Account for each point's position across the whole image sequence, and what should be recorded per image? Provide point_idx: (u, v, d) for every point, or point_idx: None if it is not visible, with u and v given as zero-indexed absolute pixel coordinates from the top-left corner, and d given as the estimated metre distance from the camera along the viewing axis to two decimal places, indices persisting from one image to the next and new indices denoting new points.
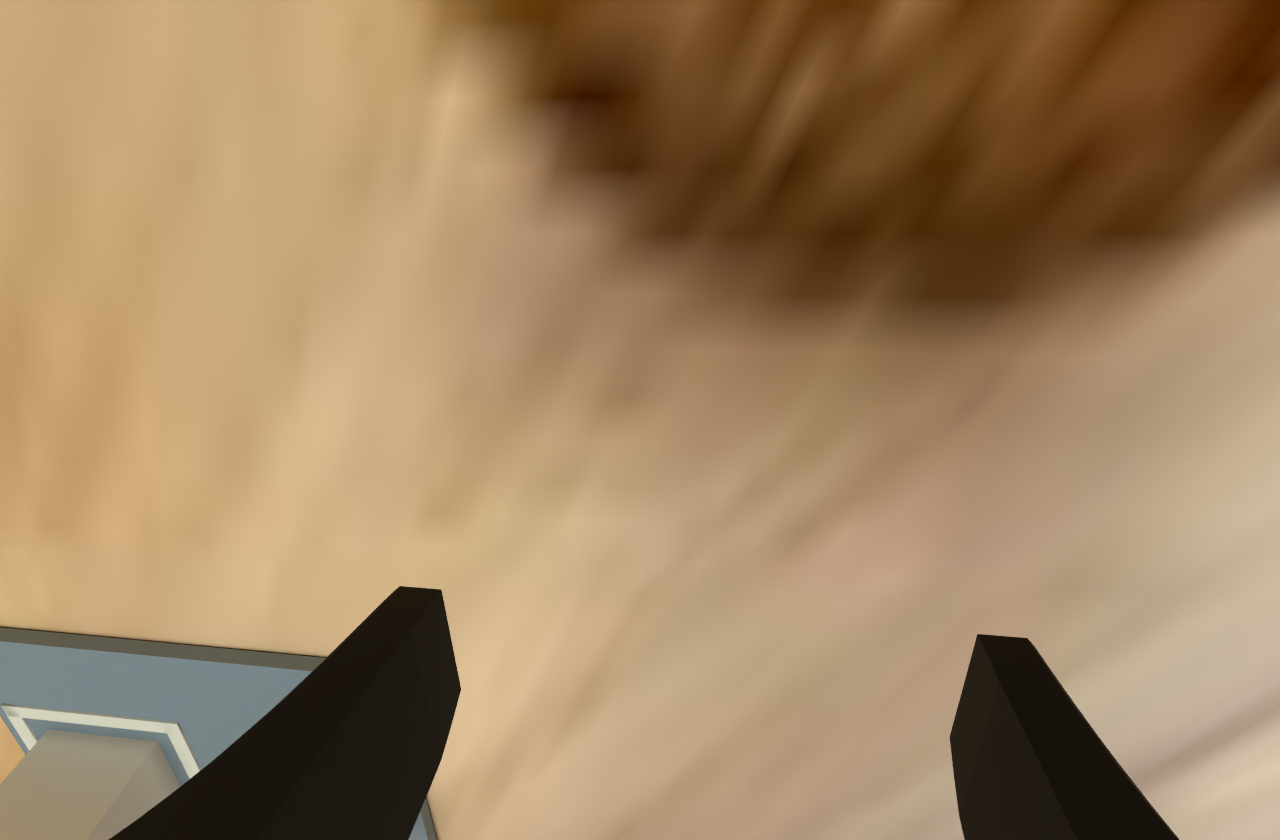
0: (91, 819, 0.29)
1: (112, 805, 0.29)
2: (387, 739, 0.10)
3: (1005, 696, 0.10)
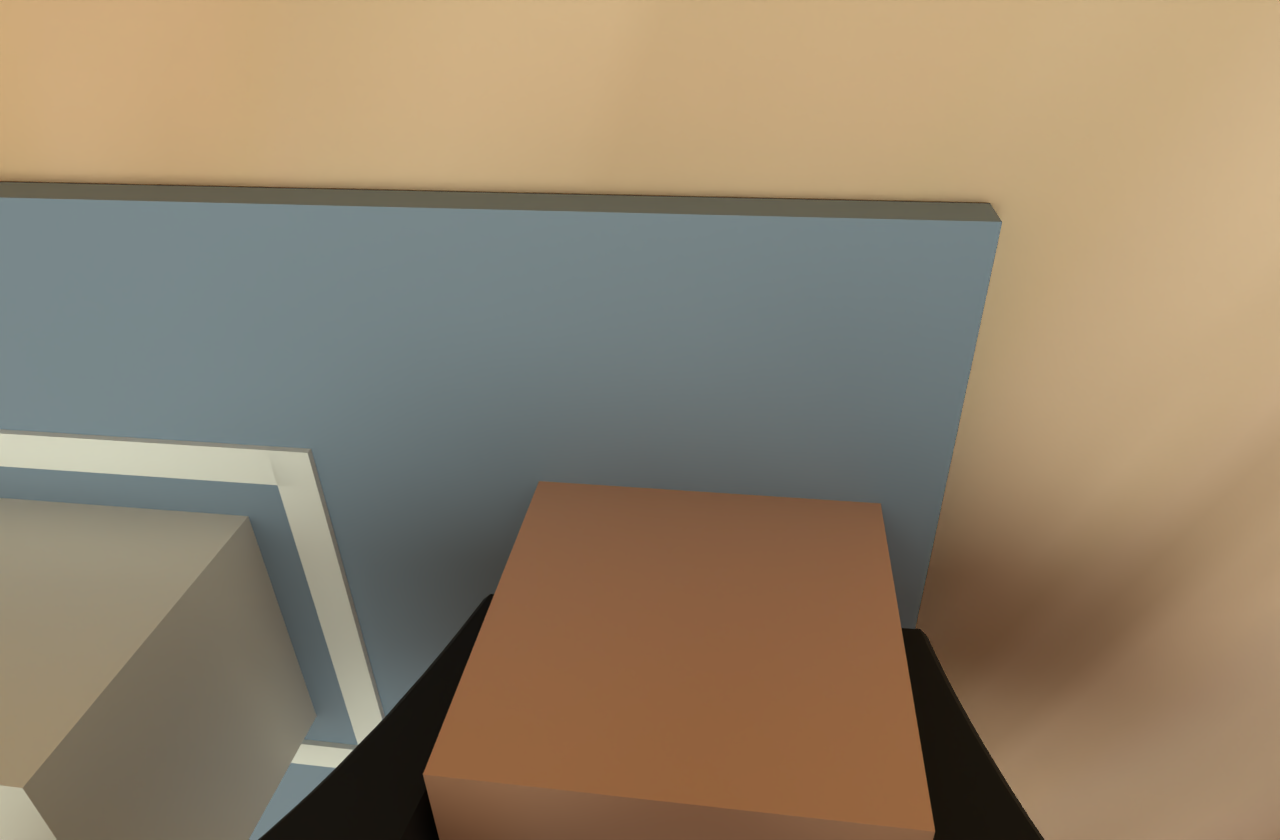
0: (81, 681, 0.10)
1: (139, 649, 0.10)
2: None
3: None
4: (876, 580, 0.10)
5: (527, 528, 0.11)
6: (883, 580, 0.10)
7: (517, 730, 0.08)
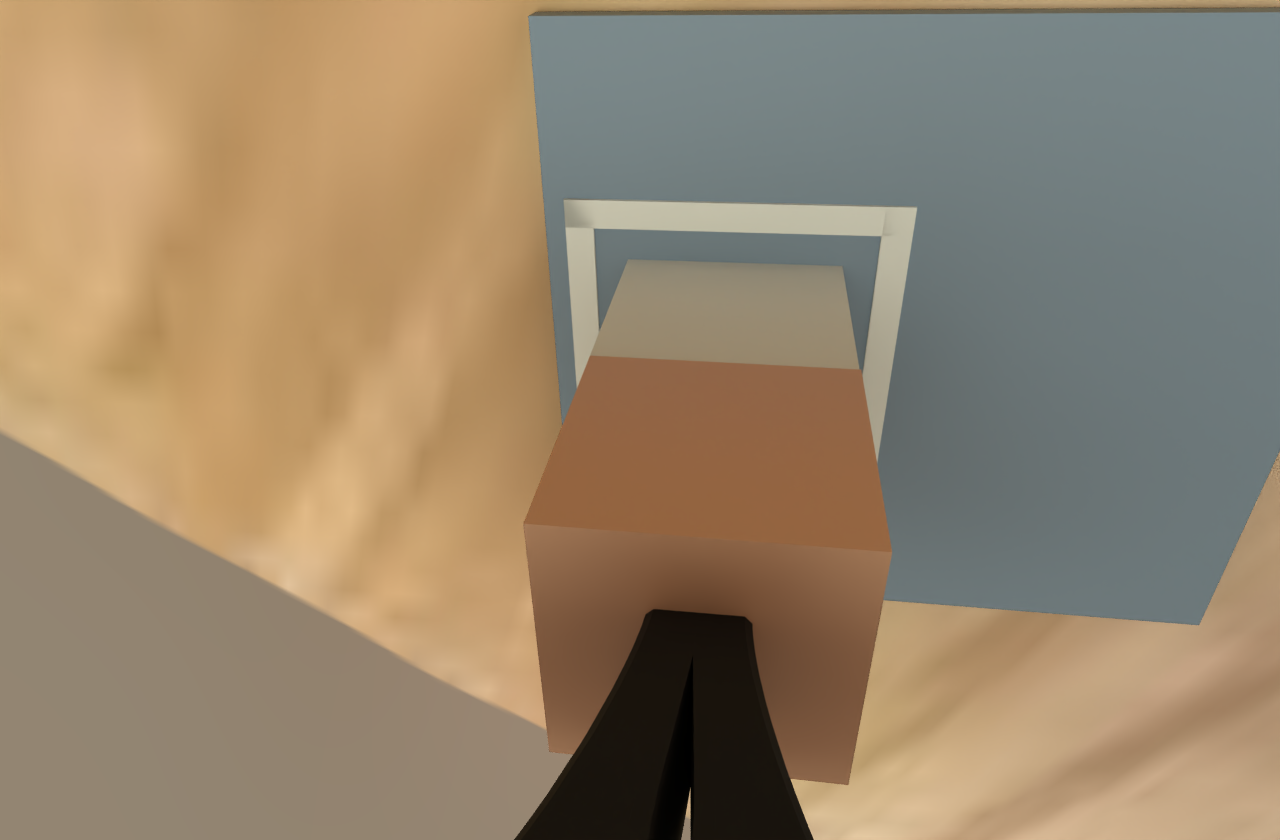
0: (832, 333, 0.15)
1: (851, 321, 0.15)
2: (677, 771, 0.10)
3: (694, 668, 0.10)
4: (856, 416, 0.13)
5: (584, 384, 0.14)
6: (861, 416, 0.13)
7: (589, 500, 0.11)
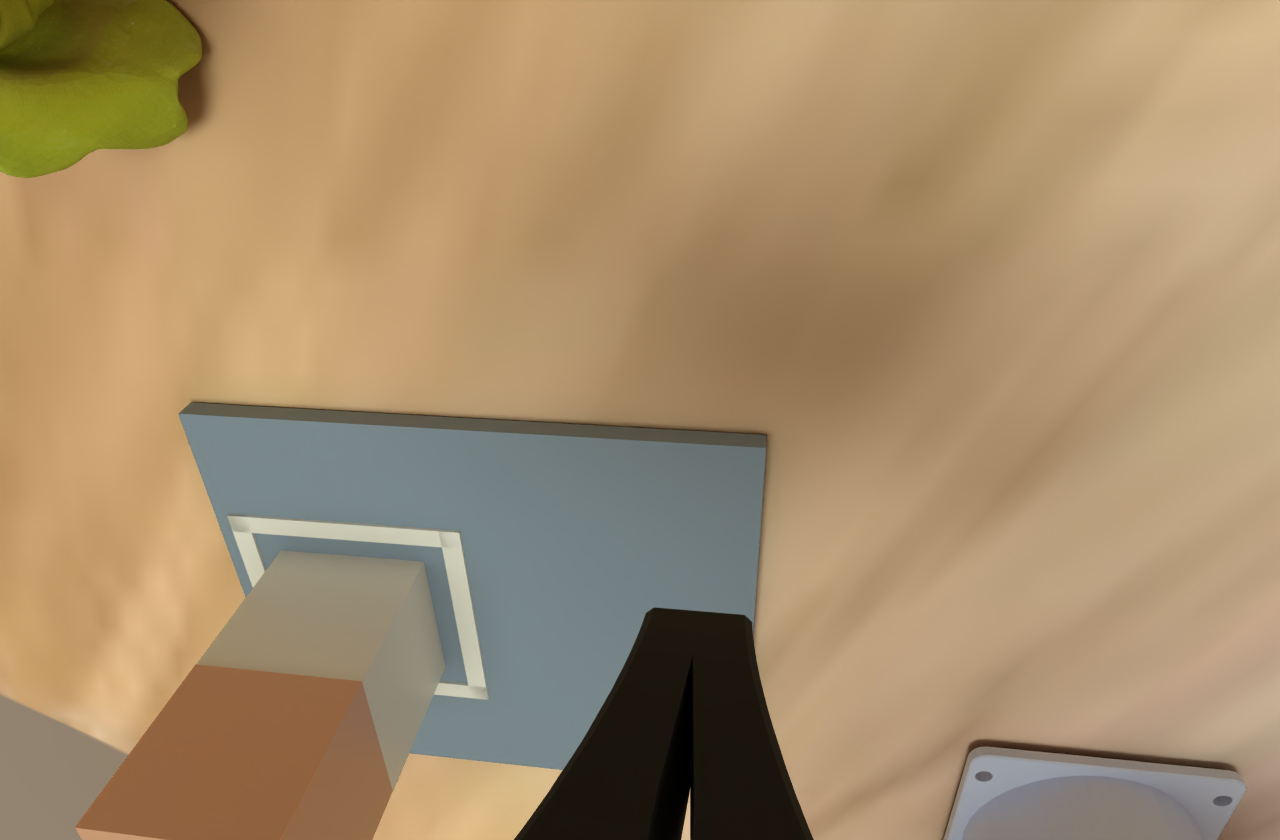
0: (369, 640, 0.22)
1: (390, 626, 0.23)
2: (677, 770, 0.10)
3: (694, 668, 0.10)
4: (328, 729, 0.20)
5: (175, 696, 0.21)
6: (332, 729, 0.20)
7: (123, 807, 0.18)
